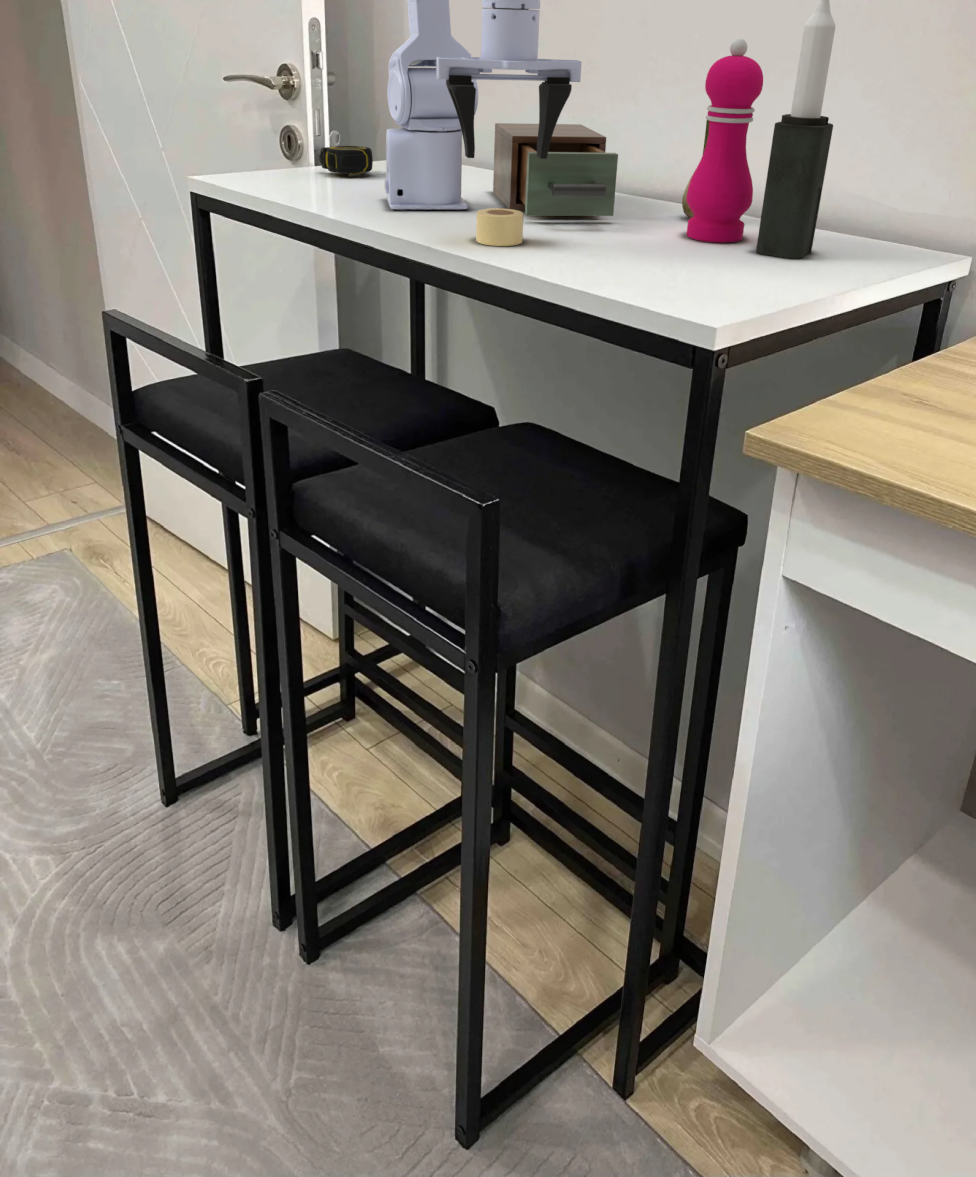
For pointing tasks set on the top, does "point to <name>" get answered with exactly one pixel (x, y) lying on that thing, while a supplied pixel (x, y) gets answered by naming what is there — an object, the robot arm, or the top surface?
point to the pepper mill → (725, 150)
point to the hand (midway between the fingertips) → (506, 157)
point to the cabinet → (528, 133)
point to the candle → (800, 150)
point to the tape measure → (346, 159)
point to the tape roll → (499, 227)
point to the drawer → (566, 180)
